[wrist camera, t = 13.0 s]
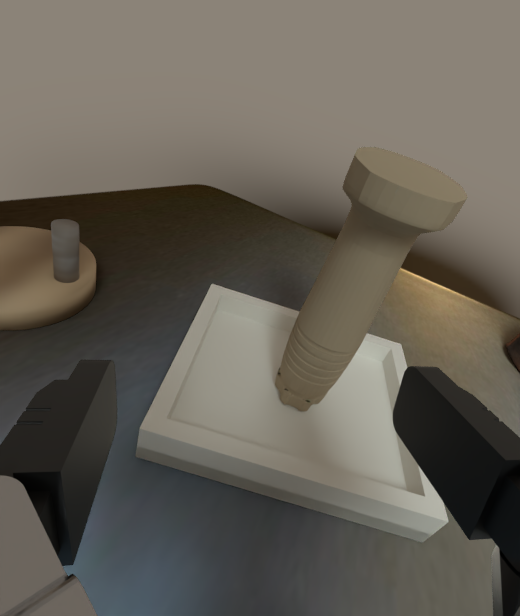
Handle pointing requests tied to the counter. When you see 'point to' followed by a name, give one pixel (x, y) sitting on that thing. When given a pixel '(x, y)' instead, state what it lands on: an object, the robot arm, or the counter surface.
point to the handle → (362, 266)
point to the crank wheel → (43, 275)
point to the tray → (288, 422)
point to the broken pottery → (515, 350)
